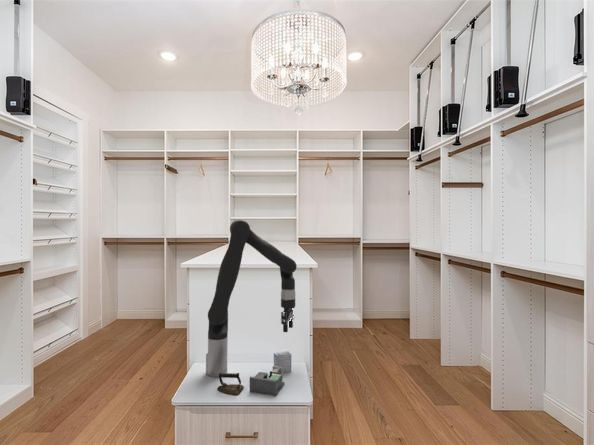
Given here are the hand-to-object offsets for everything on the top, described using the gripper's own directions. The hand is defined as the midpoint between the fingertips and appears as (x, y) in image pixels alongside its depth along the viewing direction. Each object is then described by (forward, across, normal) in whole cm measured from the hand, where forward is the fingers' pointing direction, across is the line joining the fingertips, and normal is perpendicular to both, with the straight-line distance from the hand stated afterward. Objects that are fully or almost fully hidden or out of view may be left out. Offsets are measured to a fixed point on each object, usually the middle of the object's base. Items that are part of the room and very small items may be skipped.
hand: (288, 329), depth 172 cm
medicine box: (+18, +8, 0) cm, 20 cm away
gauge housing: (+18, +27, 0) cm, 32 cm away
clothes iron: (+18, +34, -15) cm, 41 cm away
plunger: (+17, +19, +1) cm, 25 cm away
